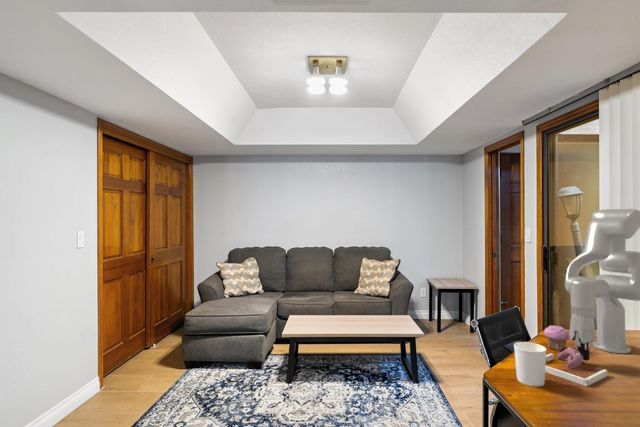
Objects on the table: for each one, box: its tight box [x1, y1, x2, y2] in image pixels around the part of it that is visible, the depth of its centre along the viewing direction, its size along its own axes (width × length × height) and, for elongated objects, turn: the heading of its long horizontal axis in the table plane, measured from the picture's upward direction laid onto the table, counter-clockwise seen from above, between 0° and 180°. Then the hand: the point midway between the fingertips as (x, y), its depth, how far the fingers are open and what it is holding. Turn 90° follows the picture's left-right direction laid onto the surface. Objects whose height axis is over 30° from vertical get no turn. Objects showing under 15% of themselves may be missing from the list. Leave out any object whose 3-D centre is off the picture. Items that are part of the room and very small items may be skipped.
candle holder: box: [513, 341, 547, 388], centre depth 124 cm, size 10×10×12 cm
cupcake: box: [543, 325, 570, 352], centre depth 153 cm, size 9×9×10 cm
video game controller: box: [556, 347, 584, 369], centre depth 137 cm, size 10×5×7 cm, turn 167°
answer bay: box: [545, 353, 608, 387], centre depth 131 cm, size 15×19×2 cm
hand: (583, 359), depth 138 cm, fingers closed
